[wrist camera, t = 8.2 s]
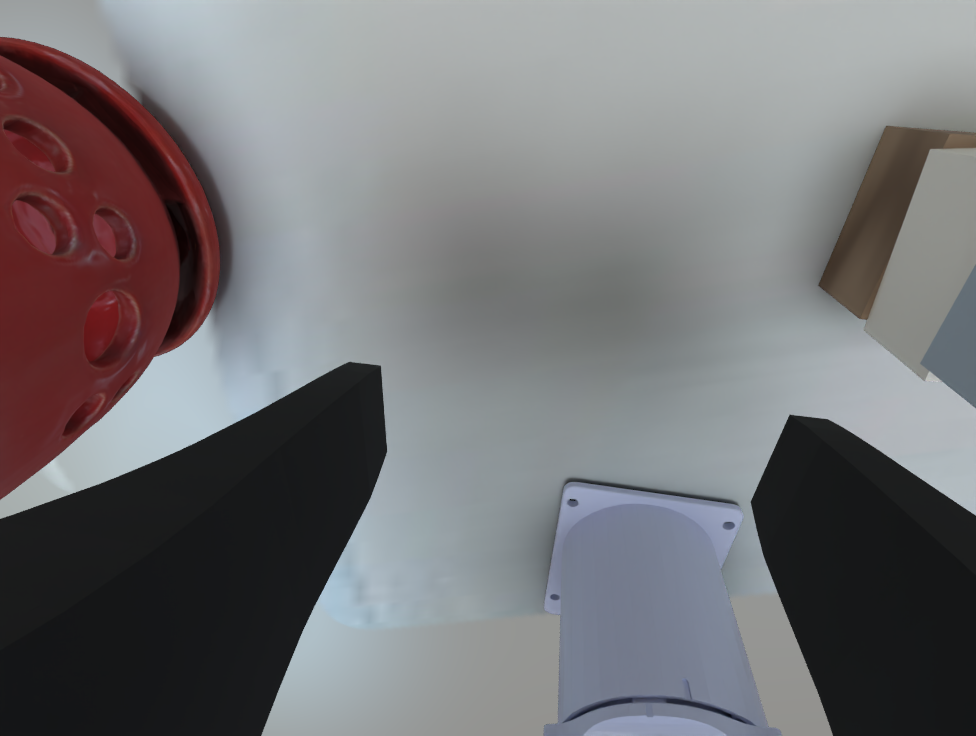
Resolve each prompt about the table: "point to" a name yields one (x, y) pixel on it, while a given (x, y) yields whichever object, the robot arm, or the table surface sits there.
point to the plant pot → (87, 251)
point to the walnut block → (881, 213)
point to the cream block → (928, 259)
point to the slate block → (957, 345)
